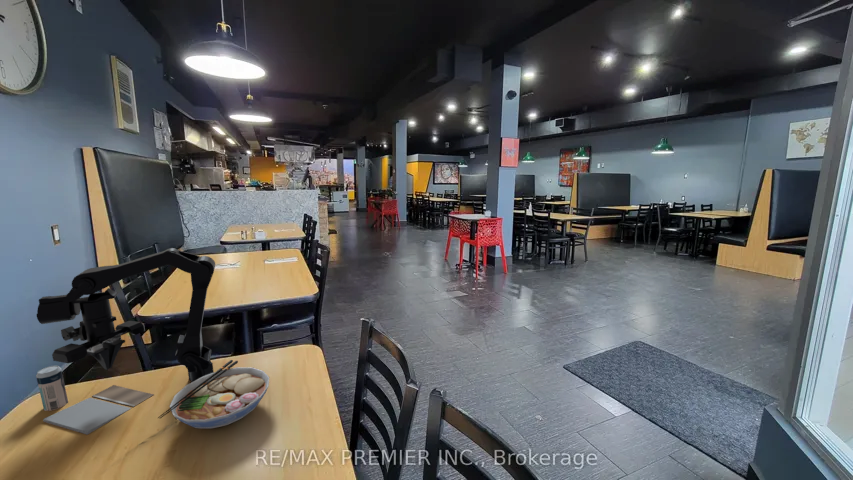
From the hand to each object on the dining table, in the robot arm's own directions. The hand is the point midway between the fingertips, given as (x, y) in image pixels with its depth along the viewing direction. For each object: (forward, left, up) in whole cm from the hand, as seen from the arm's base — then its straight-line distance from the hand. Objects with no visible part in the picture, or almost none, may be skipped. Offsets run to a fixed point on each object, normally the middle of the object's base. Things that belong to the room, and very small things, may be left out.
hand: (108, 368), depth 97 cm
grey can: (+12, +6, -11) cm, 17 cm away
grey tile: (-1, +7, -10) cm, 12 cm away
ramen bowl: (-34, -5, -11) cm, 36 cm away
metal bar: (-1, -2, -11) cm, 11 cm away
